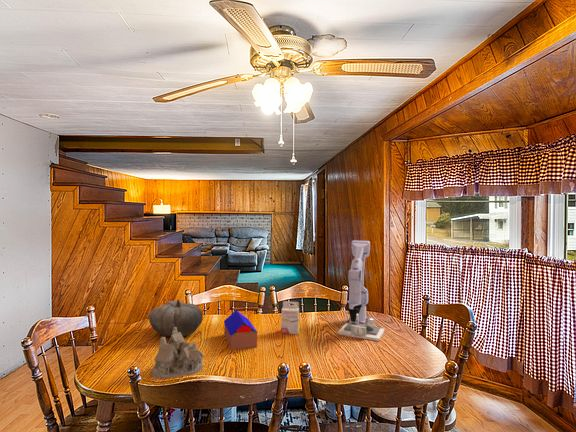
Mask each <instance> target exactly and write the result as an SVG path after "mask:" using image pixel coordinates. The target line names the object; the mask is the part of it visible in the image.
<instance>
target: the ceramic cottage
mask: <svg viewBox="0 0 576 432" xmlns="http://www.w3.org/2000/svg"><path fill="white" fill-rule="evenodd" d="M166 339H167V337H165V336H161V337H160V340H159V341H160V342H159V345H158V351H157V353H156V356H155V358H154V361H155V363H154V365H153V367H152V370H151V373H150V374H151V376H152V377H154V378H158V379H171V378H179V377H185V376H192V375H195V374H197V373H198V372H201V371H202V370H203V368H204V365H203V358H204V353H203V352H201V351H200V350H199V348H198V347H197V343H196V342H192V343H190V342H185V341H186V339H185V338H184V336H182V334H181V332H179V333H178V331H177V327H173V331H172V335H171V336H170V338H169V340H168V342H167V340H166Z"/></svg>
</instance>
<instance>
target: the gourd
mask: <svg viewBox="0 0 576 432" xmlns="http://www.w3.org/2000/svg"><path fill="white" fill-rule="evenodd" d="M148 314H149V315H148V321H149V324H150V326H151V328H152V329H153V330H154V331H155V332H156V333H158V334H159V335H161V337H165V338H167V337H171V335H172V331H173V327H177V331H178V333H179V332H181V334H182V336H183V337H186V336H188V335H191V334H193V333H194V332H196V331H197V330H198V328H199V327H200V326H201V324H202V322H203V312H202V310H201V308H199V306H198V305H196V304H194V303H184V302H182V301H180V299H179V298H178V299H177V300H169V301H167V302H166V303H164V304H162V305H161V306H158V307H155V308H153V309H152V310H151V311H150V312H149V313H148Z"/></svg>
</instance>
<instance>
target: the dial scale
mask: <svg viewBox="0 0 576 432" xmlns="http://www.w3.org/2000/svg"><path fill="white" fill-rule="evenodd" d="M385 330H386V329H385V328H383V327H382V328H381V326H375V325H374V330H366V327H365V324H363V323H359V324H357V325H353V324H350V322H345V324H344V325H343V326H342V327H341V328H340V329H339V330H338V331H337V335H338V336H339V335H340V336H346V337H351V338H357V339H364V340H369V341H376V342H380V340H381V339H382V338H383V335H384V333H385V332H386V331H385Z"/></svg>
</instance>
